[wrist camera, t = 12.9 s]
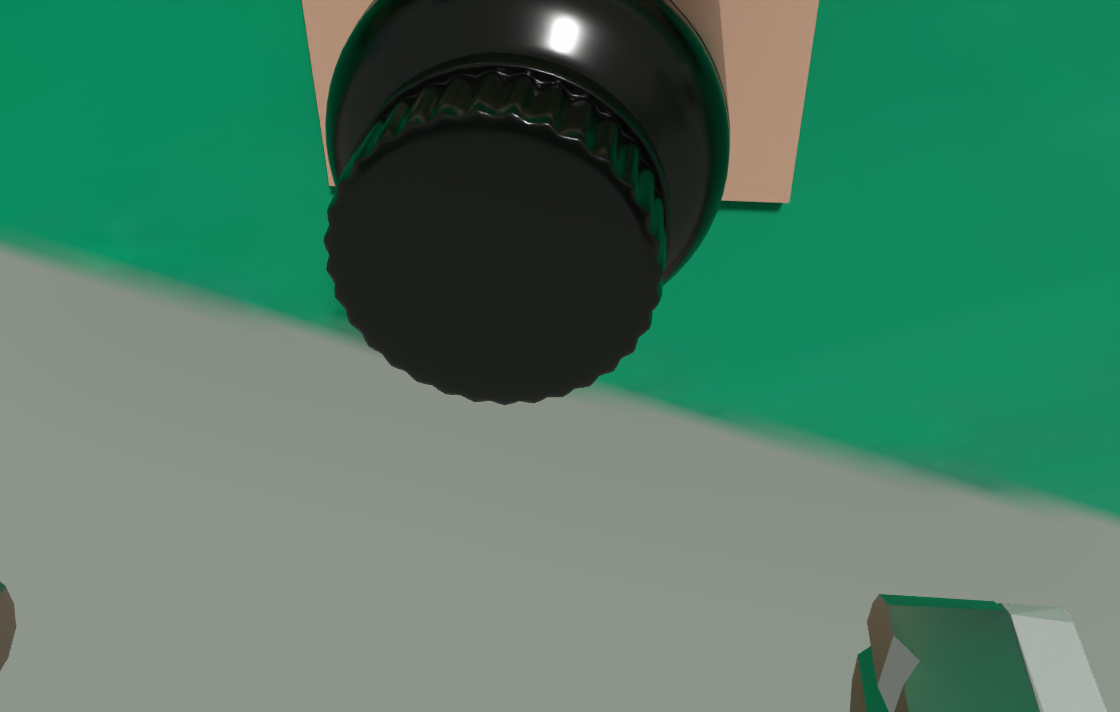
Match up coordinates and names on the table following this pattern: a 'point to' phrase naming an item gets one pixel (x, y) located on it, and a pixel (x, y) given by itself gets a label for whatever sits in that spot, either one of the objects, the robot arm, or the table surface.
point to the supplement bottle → (521, 182)
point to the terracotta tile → (751, 76)
